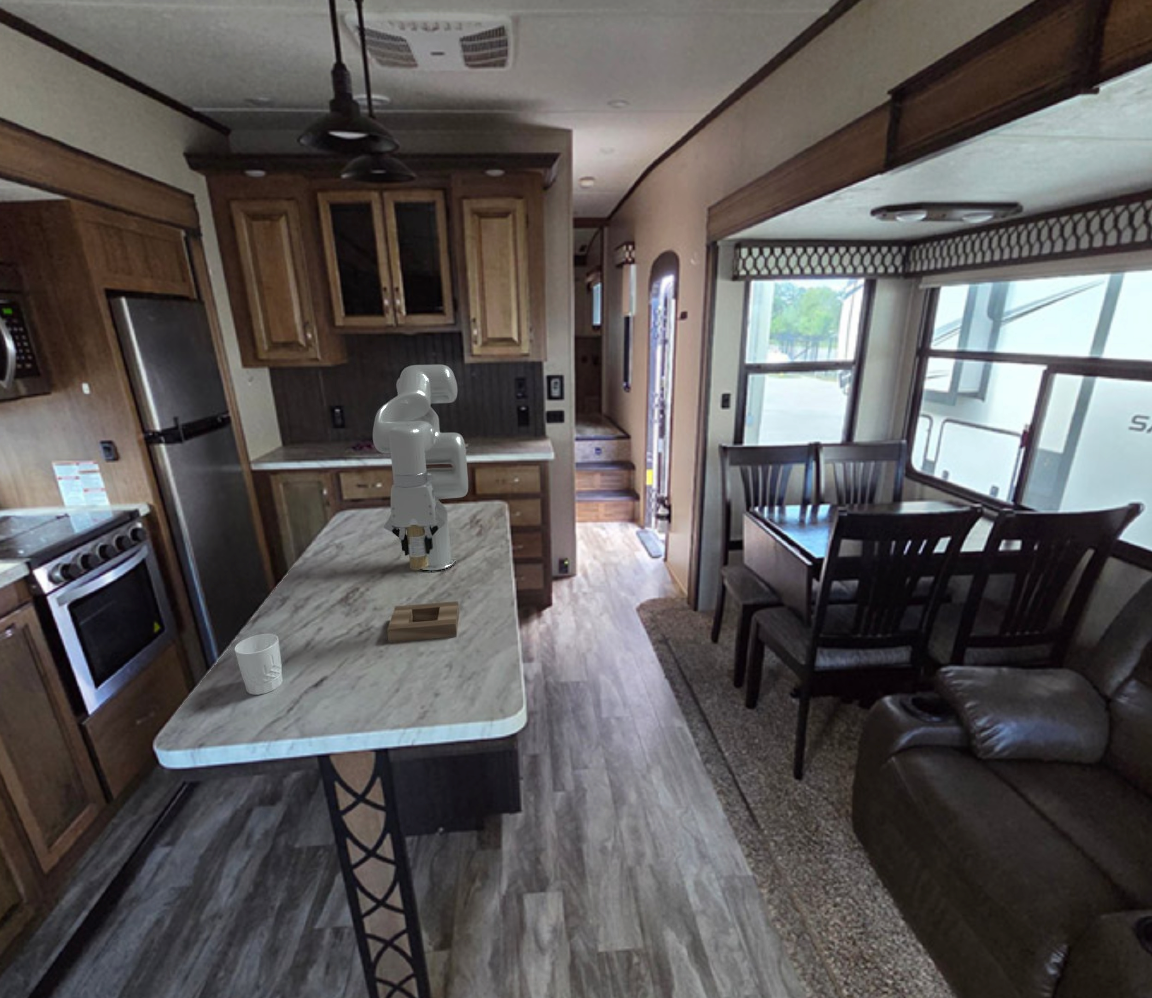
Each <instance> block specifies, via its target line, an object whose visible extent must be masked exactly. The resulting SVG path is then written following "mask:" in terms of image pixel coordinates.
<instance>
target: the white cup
mask: <svg viewBox="0 0 1152 998" xmlns="http://www.w3.org/2000/svg"><path fill="white" fill-rule="evenodd" d="M234 653H235V656H236V661H237V664H238V668H239V670H240V673H241V674H240V675H241V677H242V680H243V683H244V687H245V690H246V692H247V693H248V694H250V695H255V696H257V695H262V694H267V693H271V692H273V691H275V690H276V689H277V688H279V687H280V686H281V685H282V683H283V682H284V681H283V680H284V679H283V672H282V670H283V668H282V667H283V665H282V656H281V649H280V641H279V636H277V634H274V633H262V634H261V633H260V634H256V635H255V634H254V635H252V636H249V637H246V638H245V639H243V640H240V641H239V642H238V643H237V644H236V645H235V647H234Z"/></svg>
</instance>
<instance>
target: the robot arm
mask: <svg viewBox="0 0 1152 998" xmlns="http://www.w3.org/2000/svg"><path fill="white" fill-rule="evenodd" d="M396 390H397V396H395V397H393V398H391V399H390V400H389V401H388V402H386V403H385V404H383V405H382V406H380V408H379V409H378V410H377V412H376V414H375V418H374V423H373V429H372V442H373V445H374V448H375V449H376V450H377V451H378V452H380V453H382V454H390V459H391V469H392V477H393V484H392V485H391V489H390V516H389V517H388V519H387V520H386V522H385V523H384V525H383V528H384V529H385V530H387V531H388V532H391V533H392V534H393V535H395V537H397V538H398V539H399V541H400V543H401V552H404V556H409V552H408V542H407V529H406V528H408V527H410V526H411V525H409V524H410V521H411V519H415V520H416V521H417V523H418V524H417V525H418V526H419V527H424V530H425V533H426V538H425V545H426V554H427V558H428V563H429V565H428V567H426V568H424V569H423V570H438V569H443V568H446V567H448V566H450V565H452V564H453V563H454V562H455V561H456V562H457V558H456V557H455V558H451V555H452V554H451V544H450V543H451V540H450V528H449V519H448V511H447V508H446V507H445V505H444V504H443V503H442V502H441V501H440V500H442V499H443V500H444V499H457V498H463V497H466V495H467V494H468V492H469V476H468V475H469V474H468V466H467V465H468V463H467V462H468V461H467V450H466V444H465V440H464V438H463V436H462V435H461V434H460V433H458V432H441V431H440V418H439V416H438V414H437V413H436V411H435V410H434V409H433V408H432V407H431V405H432V404H450V403H453V402H455V401H456V400H457V397H458V383H457V379H456V377H455V373H454V372H453V370H452V368H450V367H449V366H448V365H445V364H414V365H409V366H407V367H405V368H404V369H403V370H402V371H401V373H400V376H399V378H398V379H397V380H396ZM440 464H441V465H444V464H449V465H451V466H452V467H440V468H439V467H435V468H427V465H440ZM451 559H456V560H454V561H453V560H451ZM450 563H451V564H450Z"/></svg>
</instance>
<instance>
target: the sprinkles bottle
mask: <svg viewBox="0 0 1152 998" xmlns="http://www.w3.org/2000/svg"><path fill="white" fill-rule="evenodd" d="M417 524H418V523H417V521H416V520H415V519H411V521H410V524H409V525H411V526H410V527H408V528H406V534H407V542H408V552H409V554H408V556H409V558H408V559H409V568H410V569H411V570H418V571H419V570H420V569H424V568H426V567H428V565H429V563H428V558H427V554H426V545H425V538H426V533H425V530H424V527H419V526H418V525H417Z"/></svg>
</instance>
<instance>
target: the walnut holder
mask: <svg viewBox="0 0 1152 998" xmlns="http://www.w3.org/2000/svg"><path fill="white" fill-rule="evenodd" d="M459 607H460V606H459V601H458V600H456V601H443V602H435V603H434V602H432V603H431V602H430V603H420V604H409V605H407V604H406V605H395V607H394V610H393V612H392V614H391V619H390V621H389V624H388V625H387V629H386V631H387V640H388V643H398V642H399V643H400V642H410V641H420V640H431V639H441V638H442V639H443V638H445V639H446V638H451V637H452V638H453V637H455V638H456V637H457V636H458V628H459V627H458V626H459V619H460V618H459V617H460V608H459Z"/></svg>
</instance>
